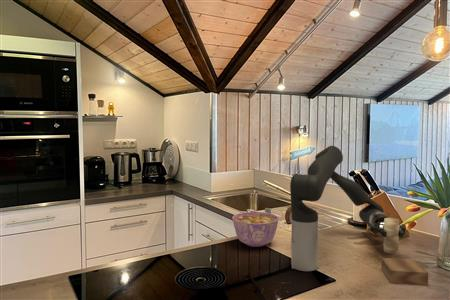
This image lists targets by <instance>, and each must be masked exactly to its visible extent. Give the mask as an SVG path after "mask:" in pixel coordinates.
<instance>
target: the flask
mask: <svg viewBox="0 0 450 300" xmlns="http://www.w3.org/2000/svg"><path fill="white" fill-rule="evenodd" d="M264 210H265V211H264V212H265V213H270V214H272V208H269V207H266V208H264Z"/></svg>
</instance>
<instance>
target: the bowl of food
mask: <svg viewBox="0 0 450 300" xmlns="http://www.w3.org/2000/svg"><path fill="white" fill-rule="evenodd" d="M231 218H232V222H233V227H234V229H235V234H236V237H237V239H238V240H239V241H240V242H241V243H243V244H245V245H247V246H248V247H253V248H260V247H263V246H265V245H268V244H269V243H270V242H272V241H273V239H274V238H275V236H276V232H277V228H278V223H279V219H280V218H279V216H278V215H276V214H274V213H271V214H270V213H265V211H246V212H244V211H243V212H240V213H237V214H234V215H233V216H232V217H231Z"/></svg>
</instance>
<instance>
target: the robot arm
mask: <svg viewBox="0 0 450 300" xmlns="http://www.w3.org/2000/svg"><path fill="white" fill-rule="evenodd" d="M314 158H315V160H313V161H312V163H311V164H310V165H309V167H308V168H307V174H301V173H299V174H298V173H296V174H294V175H292V177H291V179H290V182H289V183H290V184H289V189H290V190H289V191H290V193H289V194H290V207H291V214H292V223H291V238H290V239H291V240H290V241H291V242H290V243H291V244H290V246H291V247H290V248H291V249H290V252H291V257H290V258H291V259H290V260H291V261H290V263H291V269H292V270H293V269H294V270H297V271H302V272H312V271H316V270H317V269H318V267H319V266H318V265H319V260H318V259H319V258H318V257H319V251H318V250H319V239H318V238H319V213H318V211H317V210H316V209H313V208H311V207H309V206H307V205H306V204H305V203H304V202H303V201H305V202H318V201H319V200H320V199H321V197H322V195H323V194H324V190H325V187H326V186H327V183H328V182H329V181H330V179H331V180H332V181H333V182H334V183H335V184H336V185H337V186H338V187H339V188H340V189H341V190H342V191H343V192H344V193H345V195H347V197H348V198H349V199H350V200H351V202H352V203H353V204H354V205H355V206H356V207H359V206H360V207H361V206H362V205H364V204H367V205H365V207H363V208H362V209H360V211H358V212H359V213H358V217H359V218H360V220H361V221H362V223H364V224H367V230H368V231H370V232H371V233H372V234H374V235H377V234H379V235H380V236H382V237H383V238H384V237H386V231H385V230H384V218H390V216H388V215H387V214H386V213H384V208H383V207H382V205H380V204H379V203H378V204H377V202H376V201H374V200H373V199H372V198H371V197H370V196H369V195H368V194H367V193H366V192H365V190H364V189H363V188H362V187H361V185H360V184H358V183H357V182H356V181H355V180H352V179H350V178H348V177H345V176H343V175H341V174H339V173H338V172H336V171H335V170H336V169H337V167H338V166H339V165H340V164H341V163H342V162H343V160H344V155H343V152H342V151H341V149H340V148H338V147H337V146H335V145H329V146H327V147H325V148H324V149H322V150H321V151H320V152H318V153H317V154H316V155H315V157H314ZM369 204H370V205H369ZM406 228H407V227H406V225H405V224H401V225H400V224H399V239H400V238H401V239H403V237H405V235H406V230H407V229H406Z"/></svg>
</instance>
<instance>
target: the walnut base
mask: <svg viewBox="0 0 450 300" xmlns="http://www.w3.org/2000/svg"><path fill="white" fill-rule="evenodd" d="M381 271H382V272H383V273H384V276H385V277H386V278H387V280H388V281H389V283H391V284H404V285H420V286H428V285H429V271H427V270H426V269H425V268H424V267H423V266H422V265H421V263H420V262H418V260H417V259H414V258H412V259H411V258H410V259H409V258H394V257H393V258H392V257H391V258H390V257H389V258H388V257H381Z"/></svg>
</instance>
